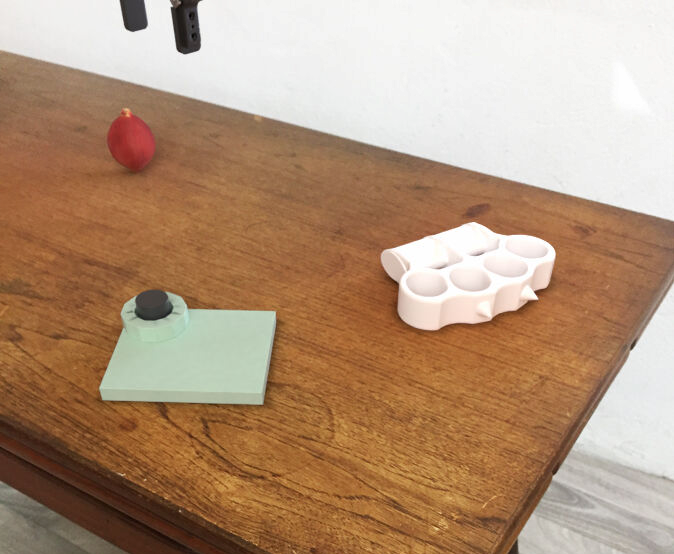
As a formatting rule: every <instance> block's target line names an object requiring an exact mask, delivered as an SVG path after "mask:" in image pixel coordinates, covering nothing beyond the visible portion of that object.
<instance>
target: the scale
mask: <svg viewBox="0 0 674 554" xmlns="http://www.w3.org/2000/svg"><path fill="white" fill-rule="evenodd" d="M164 292H165V293H166V294H167V295H168V298H169V304H170V309H171V312H170V314H169V315H168V316H167V317H166V318H163V319H159V320H156V321H145V320H142V319H141V318H140V317H139V316H138V312H137V307H136V303H135V299H136V297H137V295H135V296H134V297H132V298H131V299H130V300H128V301H126V302H125V303H124V304H123V307H122V309H121V312H120V317H121V322H122V326H123V328H122V330H121V333H120V335H119V337H118V340H117V343H116V344H115V348H114V351H113V352H112V355H111V357H110V360H109V363H108V365H107V368H106V370H105V372H104V375H103V378H102V379H101V382H100V385H99V387H98V389H99V393H100V396H101V400H102V401H112V402H114V401H115V402H147V403H149V402H150V403H151V402H153V403H155V402H156V403H184V404H185V403H186V404H187V403H189V404H222V405H223V404H224V405H225V404H227V405H257V406H258V405H259V406H260V405H261V406H263V405H264V400H265V394H266V389H267V383H268V376H269V370H270V365H271V359H272V358H271V357H272V352H273V346H274V339H275V333H276V327H277V314H276V310H249V309H247V310H246V309H245V310H243V309H242V310H241V309H209V308H208V309H207V308H206V309H205V308H204V309H203V308H188V305H187V303H186V302H185V300H184V299H183V297H182V296H180V295H177V294H175V293H172V292H169V291H164Z"/></svg>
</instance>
